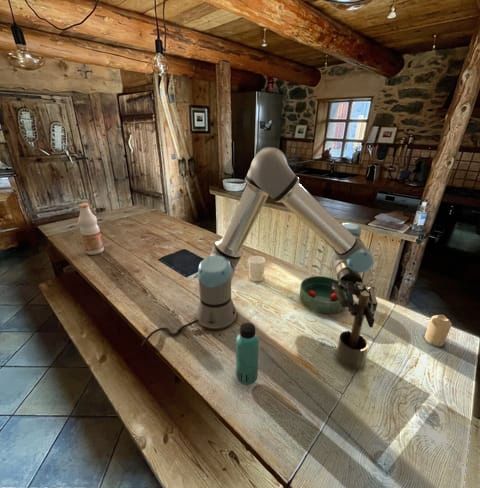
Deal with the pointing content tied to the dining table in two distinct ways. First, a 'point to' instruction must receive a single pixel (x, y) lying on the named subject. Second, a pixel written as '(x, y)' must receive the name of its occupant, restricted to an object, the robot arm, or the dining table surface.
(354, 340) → the stirring stick
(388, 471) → the dining table surface
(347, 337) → the crock
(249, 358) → the beverage bottle
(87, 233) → the fruit juice
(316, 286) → the bowl
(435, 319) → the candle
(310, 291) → the tomato
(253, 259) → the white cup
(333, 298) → the tomato
